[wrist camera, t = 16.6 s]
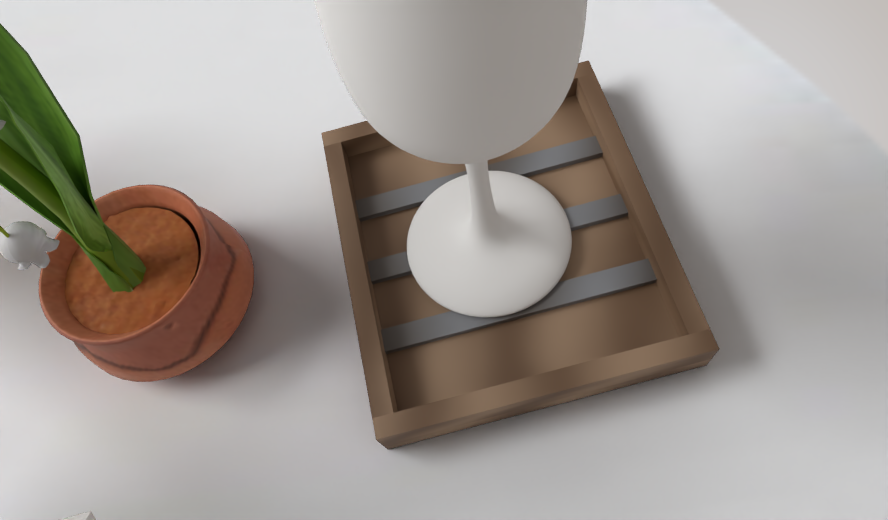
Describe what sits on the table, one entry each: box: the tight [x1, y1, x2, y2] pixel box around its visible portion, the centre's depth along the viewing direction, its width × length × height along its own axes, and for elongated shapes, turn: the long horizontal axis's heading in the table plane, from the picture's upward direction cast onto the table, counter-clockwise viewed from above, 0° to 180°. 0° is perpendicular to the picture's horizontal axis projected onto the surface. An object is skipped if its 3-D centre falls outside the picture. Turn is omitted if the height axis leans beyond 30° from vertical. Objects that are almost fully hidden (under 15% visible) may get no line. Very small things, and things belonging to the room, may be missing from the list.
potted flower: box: [0, 24, 254, 382], centre depth 25 cm, size 12×10×25 cm
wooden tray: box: [322, 61, 719, 449], centre depth 34 cm, size 16×18×2 cm
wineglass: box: [314, 0, 587, 317], centre depth 25 cm, size 9×9×21 cm
